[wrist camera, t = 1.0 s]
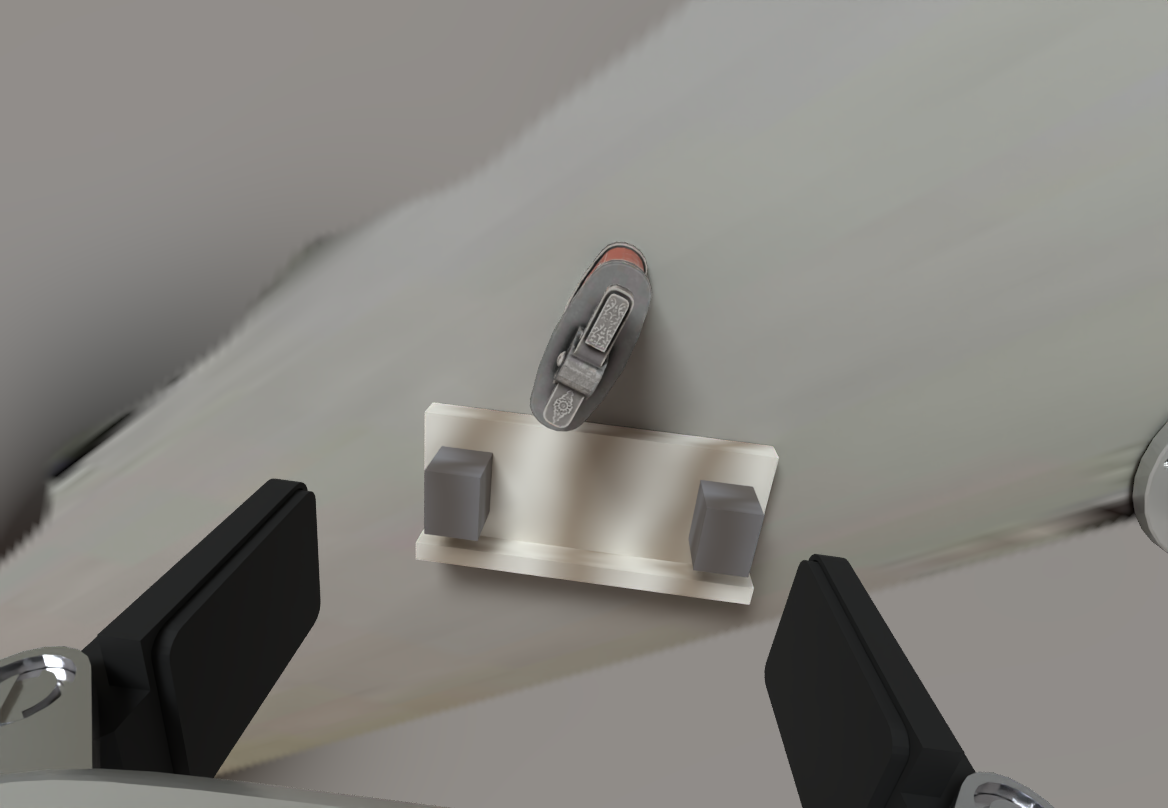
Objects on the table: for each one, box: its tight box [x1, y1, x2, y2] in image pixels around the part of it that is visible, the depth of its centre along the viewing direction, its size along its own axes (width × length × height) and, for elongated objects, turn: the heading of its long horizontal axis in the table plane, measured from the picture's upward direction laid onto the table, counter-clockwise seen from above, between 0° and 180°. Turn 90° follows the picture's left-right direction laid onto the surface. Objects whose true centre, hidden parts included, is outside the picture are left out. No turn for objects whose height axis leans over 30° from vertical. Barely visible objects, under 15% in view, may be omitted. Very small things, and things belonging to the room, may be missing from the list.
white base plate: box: [416, 402, 779, 605], centre depth 33 cm, size 20×9×4 cm, turn 83°
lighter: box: [530, 242, 652, 432], centre depth 27 cm, size 8×3×10 cm, turn 152°
